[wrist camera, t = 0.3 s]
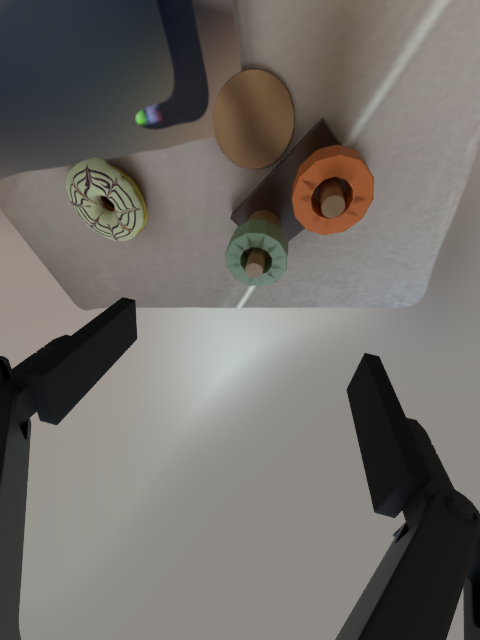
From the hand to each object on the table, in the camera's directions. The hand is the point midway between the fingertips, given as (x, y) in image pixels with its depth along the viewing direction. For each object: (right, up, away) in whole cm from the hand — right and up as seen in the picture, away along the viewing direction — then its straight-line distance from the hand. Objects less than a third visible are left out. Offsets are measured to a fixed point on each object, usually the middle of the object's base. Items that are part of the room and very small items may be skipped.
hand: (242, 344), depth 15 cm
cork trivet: (+1, +23, +15) cm, 28 cm away
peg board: (+7, +18, +19) cm, 27 cm away
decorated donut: (-18, +19, +24) cm, 35 cm away
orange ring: (+9, +15, +12) cm, 21 cm away
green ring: (+2, +10, +18) cm, 21 cm away
